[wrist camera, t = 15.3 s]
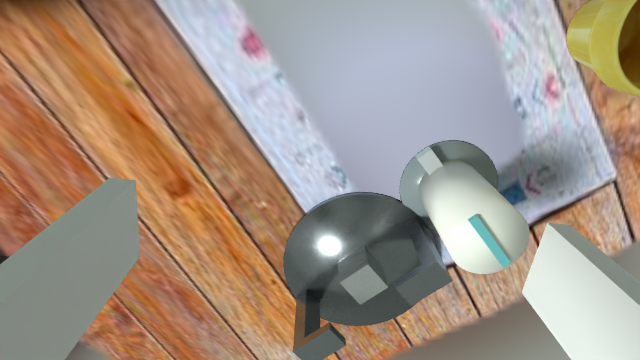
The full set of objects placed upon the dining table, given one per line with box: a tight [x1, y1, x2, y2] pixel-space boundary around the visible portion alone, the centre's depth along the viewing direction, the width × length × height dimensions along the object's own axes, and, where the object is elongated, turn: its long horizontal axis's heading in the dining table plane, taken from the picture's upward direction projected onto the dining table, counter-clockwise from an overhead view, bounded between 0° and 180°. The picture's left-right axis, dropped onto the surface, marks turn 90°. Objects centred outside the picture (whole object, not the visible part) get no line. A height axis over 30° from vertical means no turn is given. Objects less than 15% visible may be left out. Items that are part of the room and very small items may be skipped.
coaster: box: [400, 140, 498, 230], centre depth 47 cm, size 11×11×1 cm
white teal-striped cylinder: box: [415, 146, 529, 274], centre depth 41 cm, size 12×7×12 cm, turn 38°
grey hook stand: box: [284, 192, 453, 360], centre depth 46 cm, size 19×19×10 cm
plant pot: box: [566, 0, 640, 97], centre depth 36 cm, size 10×10×10 cm
